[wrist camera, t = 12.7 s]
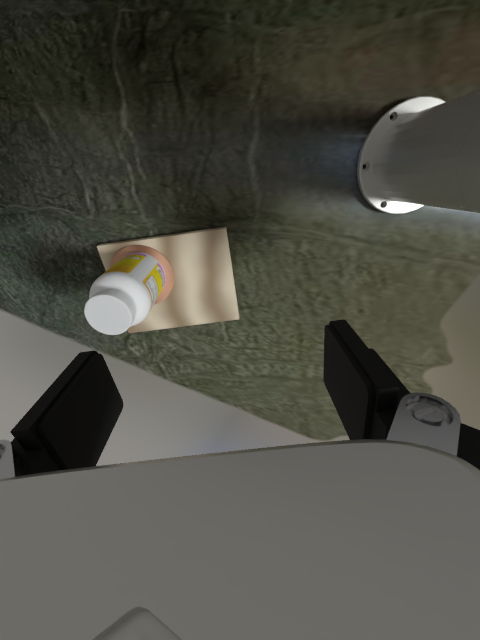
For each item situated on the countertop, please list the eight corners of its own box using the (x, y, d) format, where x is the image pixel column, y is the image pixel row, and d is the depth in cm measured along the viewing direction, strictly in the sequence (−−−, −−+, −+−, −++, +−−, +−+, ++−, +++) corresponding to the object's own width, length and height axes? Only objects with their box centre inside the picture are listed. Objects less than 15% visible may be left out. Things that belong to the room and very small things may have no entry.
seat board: (226, 226, 38) (225, 228, 36) (239, 314, 44) (239, 320, 42) (101, 243, 38) (95, 247, 37) (132, 328, 45) (128, 334, 43)
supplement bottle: (110, 275, 38) (60, 317, 27) (135, 240, 36) (93, 270, 25) (150, 304, 41) (119, 353, 29) (176, 272, 39) (153, 313, 27)
